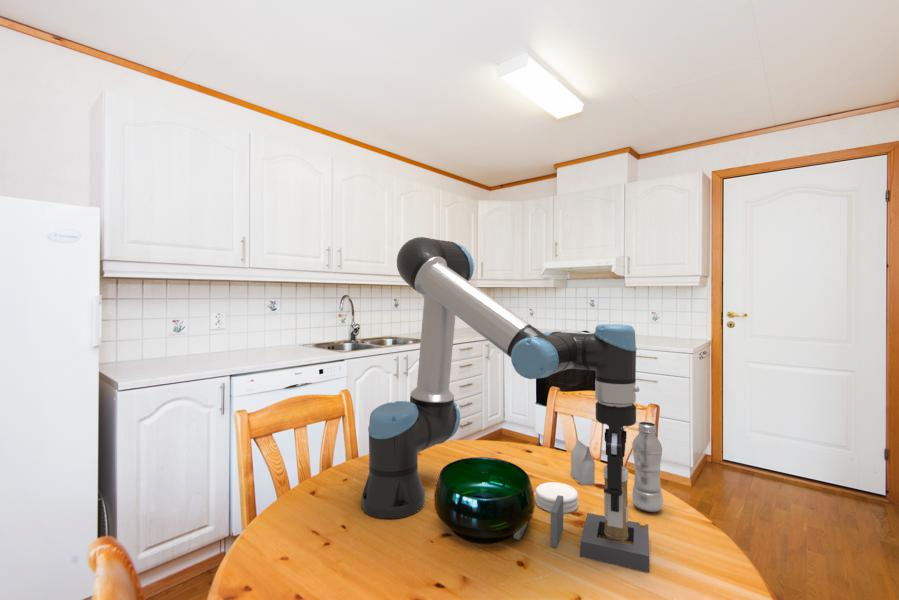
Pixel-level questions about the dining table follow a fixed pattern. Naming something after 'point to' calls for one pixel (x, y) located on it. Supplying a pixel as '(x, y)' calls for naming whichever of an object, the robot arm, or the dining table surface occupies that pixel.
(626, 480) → the sprinkles bottle
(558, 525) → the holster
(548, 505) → the white round stack
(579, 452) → the grey gabled carton
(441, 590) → the dining table surface
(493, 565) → the dining table surface
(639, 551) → the port block
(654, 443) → the plastic bottle
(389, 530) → the dining table surface
